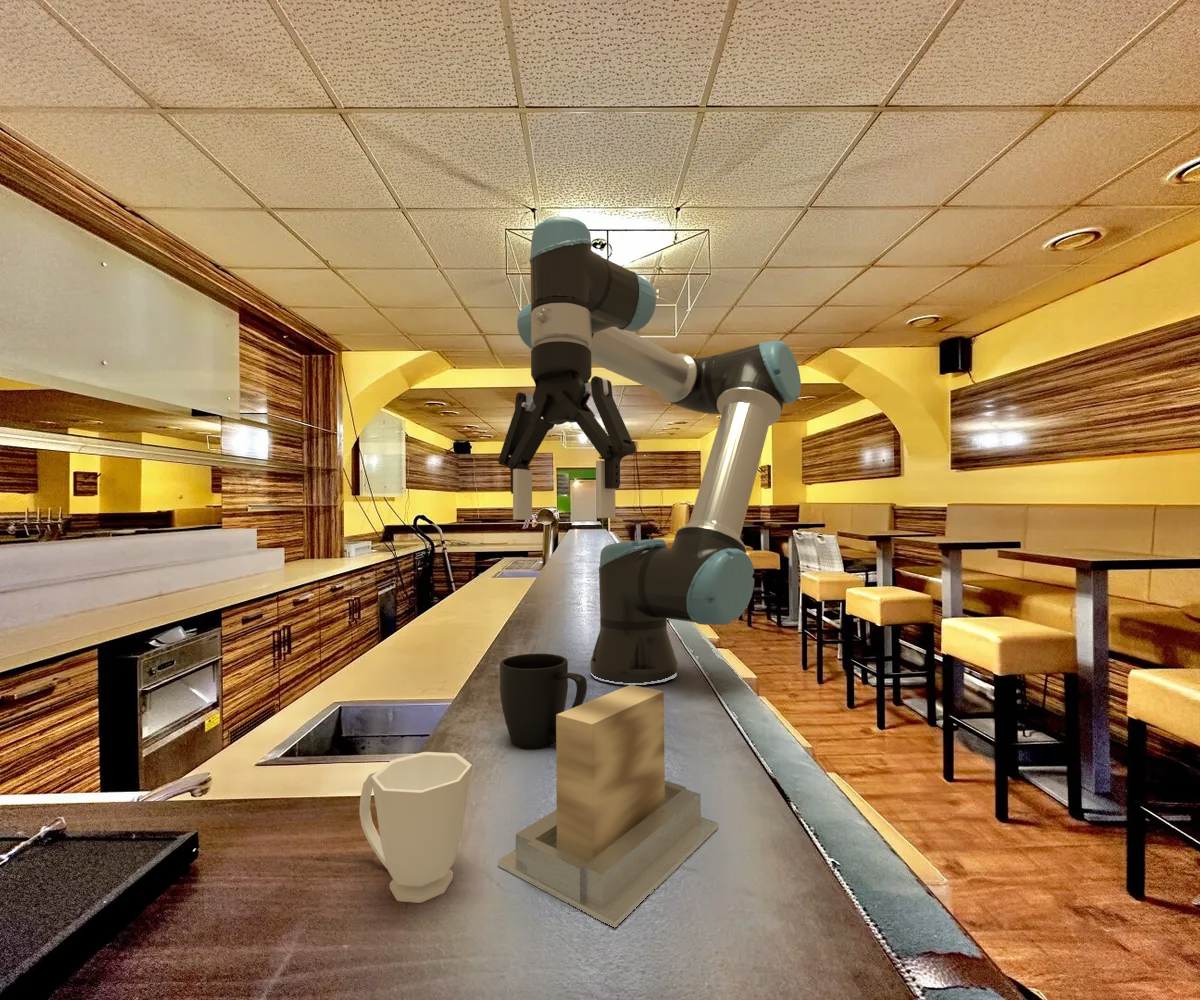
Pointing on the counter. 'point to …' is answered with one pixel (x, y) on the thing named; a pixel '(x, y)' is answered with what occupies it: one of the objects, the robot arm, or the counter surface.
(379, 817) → the cup
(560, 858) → the beige piece
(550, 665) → the mug
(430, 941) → the counter surface
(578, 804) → the wooden block
